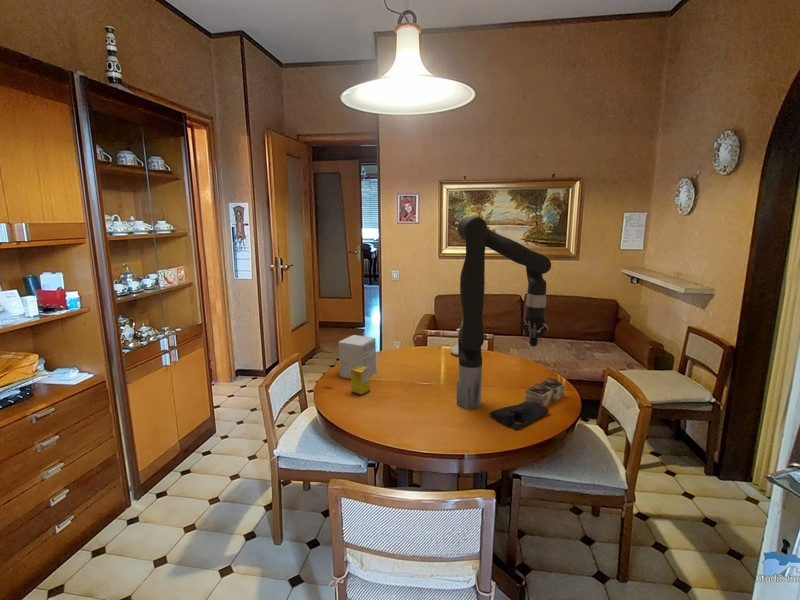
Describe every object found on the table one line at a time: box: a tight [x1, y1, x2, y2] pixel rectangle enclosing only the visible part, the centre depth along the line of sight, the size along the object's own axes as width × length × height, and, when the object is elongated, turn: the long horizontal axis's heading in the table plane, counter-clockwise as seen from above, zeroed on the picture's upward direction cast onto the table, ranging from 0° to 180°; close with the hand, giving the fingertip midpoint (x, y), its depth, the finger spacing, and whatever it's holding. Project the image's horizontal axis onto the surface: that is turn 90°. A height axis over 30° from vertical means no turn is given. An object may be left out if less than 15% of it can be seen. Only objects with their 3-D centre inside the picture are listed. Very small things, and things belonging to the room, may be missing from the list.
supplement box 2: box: [350, 366, 371, 397], centre depth 189 cm, size 6×6×11 cm
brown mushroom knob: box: [545, 377, 559, 385], centre depth 183 cm, size 5×5×6 cm
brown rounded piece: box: [532, 383, 546, 391], centre depth 177 cm, size 5×5×6 cm
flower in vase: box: [449, 318, 463, 356], centre depth 235 cm, size 13×11×25 cm
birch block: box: [524, 380, 566, 407], centre depth 180 cm, size 16×8×6 cm, turn 130°
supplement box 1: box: [338, 334, 377, 379], centre depth 209 cm, size 13×13×18 cm
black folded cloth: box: [489, 400, 550, 431], centre depth 166 cm, size 15×22×5 cm
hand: (533, 345), depth 178 cm, fingers closed
